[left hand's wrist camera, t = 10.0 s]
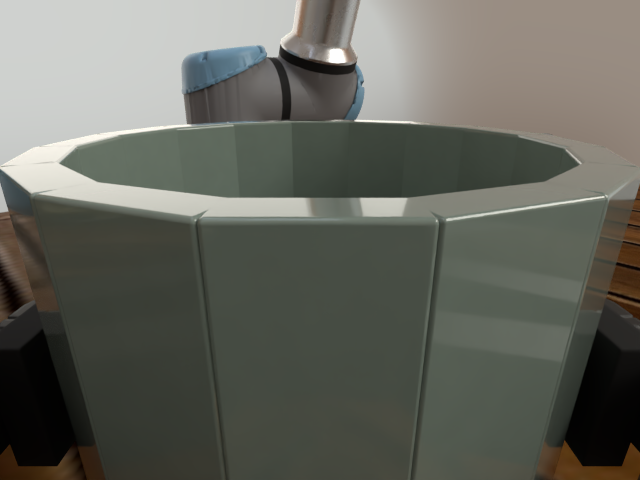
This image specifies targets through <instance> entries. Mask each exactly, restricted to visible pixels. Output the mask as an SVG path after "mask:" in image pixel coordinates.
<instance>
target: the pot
mask: <svg viewBox="0 0 640 480" xmlns="http://www.w3.org/2000/svg"><path fill="white" fill-rule="evenodd" d="M0 183H1V187H2V190H3V194H4V197H5V200H6V204H7V207H8V211H9V214H10V217H11V221H12V224H13V228H14V231H15V234H16V238H17V241H18V245H19V248H20V251H21V255H22V258H23V262H24V265H25V268H26V272H27V275H28V279H29V282H30V285H31V289H32V292H33V296H34V299H35V303H36V306H37V309H38V313H39V316H40V320H41V323H42V326H43V330H44V333H45V337H46V340H47V343H48V347H49V350H50V354H51V357H52V360H53V364H54V367H55V371H56V374H57V377H58V381H59V384H60V388H61V391H62V394H63V398H64V401H65V405H66V408H67V411H68V415H69V418H70V422H71V425H72V428H73V432H74V435H75V439H76V442H77V446H78V449H79V452H80V456H81V459H82V463H83V466H84V469H85V473H86V476H87V480H553V477H554V474H555V470H556V467H557V463H558V460H559V456H560V453H561V450H562V446H563V443H564V439H565V436H566V433H567V429H568V426H569V422H570V419H571V416H572V412H573V409H574V405H575V402H576V398H577V395H578V392H579V388H580V385H581V381H582V378H583V375H584V371H585V368H586V364H587V361H588V358H589V354H590V351H591V347H592V344H593V340H594V337H595V334H596V330H597V327H598V323H599V320H600V317H601V313H602V310H603V306H604V303H605V300H606V296H607V293H608V289H609V286H610V282H611V279H612V276H613V272H614V269H615V265H616V262H617V259H618V255H619V252H620V248H621V245H622V242H623V238H624V235H625V231H626V228H627V224H628V221H629V218H630V214H631V211H632V207H633V204H634V201H635V197H636V194H637V190H638V187H639V184H640V167H638V166H636V165H634V164H633V163H631V162H629V161H628V160H626V159H624V158H622V157H621V156H619V155H617V154H616V153H614V152H612V151H610V150H609V149H607V148H605V147H603V146H599V145H594V144H589V143H585V142H580V141H575V140H571V139H566V138H562V137H557V136H552V135H548V134H539V133H531V132H523V131H514V130H506V129H498V128H489V127H478V126H469V125H454V124H440V123H425V122H408V121H376V120H267V121H236V122H216V123H202V124H188V125H173V126H163V127H160V126H159V127H151V128H142V129H134V130H126V131H117V132H109V133H101V134H95V135H90V136H86V137H81V138H76V139H72V140H67V141H62V142H58V143H53V144H48V145H44V146H40V147H34V148H32V149H30V150H29V151H27V152H25V153H23V154H21V155H20V156H18V157H16V158H14V159H12V160H11V161H9V162H7V163H5V164H3V165H2V166H0Z"/></svg>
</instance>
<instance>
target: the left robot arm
mask: <svg viewBox="0 0 640 480" xmlns="http://www.w3.org/2000/svg"><path fill="white" fill-rule="evenodd" d="M75 440H76V439H75V435H74V432H73V428H72V425H71V422H70V418H69V415H68V411H67V408H66V405H65V401H64V398H63V394H62V391H61V388H60V384H59V381H58V377H57V374H56V371H55V367H54V364H53V360H52V357H51V354H50V350H49V347H48V343H47V340H46V337H45V333H44V330H43V326H42V323H41V320H40V316H39V313H38V309H37V306H36V303H35V300H34V301H31V302H29V303H27V304H25V305H23V306H22V307H21V308H19V309H18V310H17V311H15V312H14V313H13V314H11V315H10V316H9V317H8V319H5V320H3V321H2V322H1V323H0V455H1V453H2V452H3V451H4V450H5V449H6V448H7V446H8V445H9V444H10V445H11V448H12V450H13V453H14V456H15V458H16V461H17V464H18V466H58V464H59V463H60V461H61V460H62V459H63V457H64V456H65V454H66V453H67V451H68V450H69V448H70V447H71V446H72V444H73V443H74V441H75ZM564 440H565V441H566V442H567V444H568V445H569V447H570V448H571V450H572V451H573V453H574V454H575V455H576V457H577V458H578V460H579V461H580V463H581V464H582V466H622V464H623V461H624V459H625V456H626V453H627V451H628V448H629V445H630V443H632V444H633V445H634V446H635V447H636V449H637V450H638V451H639V452H640V320H638V319H637V318H633V315H631V314H630V313H629V312H627V311H626V310H625V309H623V308H622V307H620V306H619V305H618V304H616V303H614V302H612V301H610V300H608V299H606V300H605V303H604V306H603V310H602V313H601V317H600V320H599V323H598V327H597V330H596V334H595V337H594V340H593V344H592V347H591V351H590V354H589V358H588V361H587V364H586V368H585V371H584V375H583V378H582V381H581V385H580V388H579V392H578V395H577V398H576V402H575V405H574V409H573V412H572V416H571V419H570V422H569V426H568V429H567V433H566V436H565V439H564ZM638 480H640V475H639V477H638Z"/></svg>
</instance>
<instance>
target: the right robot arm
mask: <svg viewBox="0 0 640 480" xmlns="http://www.w3.org/2000/svg"><path fill="white" fill-rule="evenodd" d="M359 4H360V0H297V3H296V11H295V18H294V25H293V30H292V31H291V32H290V33H288V34H287V35H286V36H285V37H283V38H282V39H281V43H280V51H279V56H278V58H269V57H266V56H267V53H266V51H265V48H264V47H263V46H261V45H259V46H245V47H235V48H227V49H218V50H211V51H204V52H197V53H192V54H190V55H188V56H186V57H185V58H184V60H183V62H182V94H184V102H185V110H186V119H187V125H188V124H202V123H216V122H236V121H267V120H356V118H357V116H358V114H359V112H360V110H361V107H362V103H363V99H364V87H362V83H363V82H364V80H363V75H362V72H361V70H360V69H359V67H358V66H357V65H356V63H357V58H358V57H357V54H356V53H355V51H354V49H353V47H352V45H351V39H352V35H353V30H354V26H355V22H356V17H357V13H358V9H359Z"/></svg>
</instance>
